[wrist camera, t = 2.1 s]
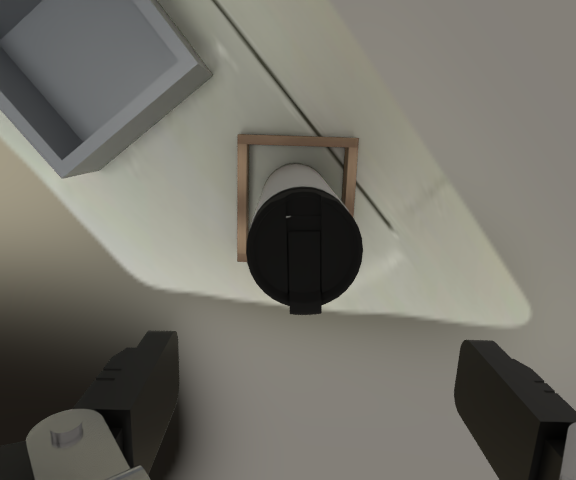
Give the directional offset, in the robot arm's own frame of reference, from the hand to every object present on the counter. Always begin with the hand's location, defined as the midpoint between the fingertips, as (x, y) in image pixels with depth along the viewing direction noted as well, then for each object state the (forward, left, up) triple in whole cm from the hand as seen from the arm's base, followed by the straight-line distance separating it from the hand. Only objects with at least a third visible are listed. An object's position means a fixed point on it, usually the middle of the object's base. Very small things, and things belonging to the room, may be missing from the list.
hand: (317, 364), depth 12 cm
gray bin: (-12, -18, -30) cm, 37 cm away
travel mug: (0, 0, -30) cm, 30 cm away
